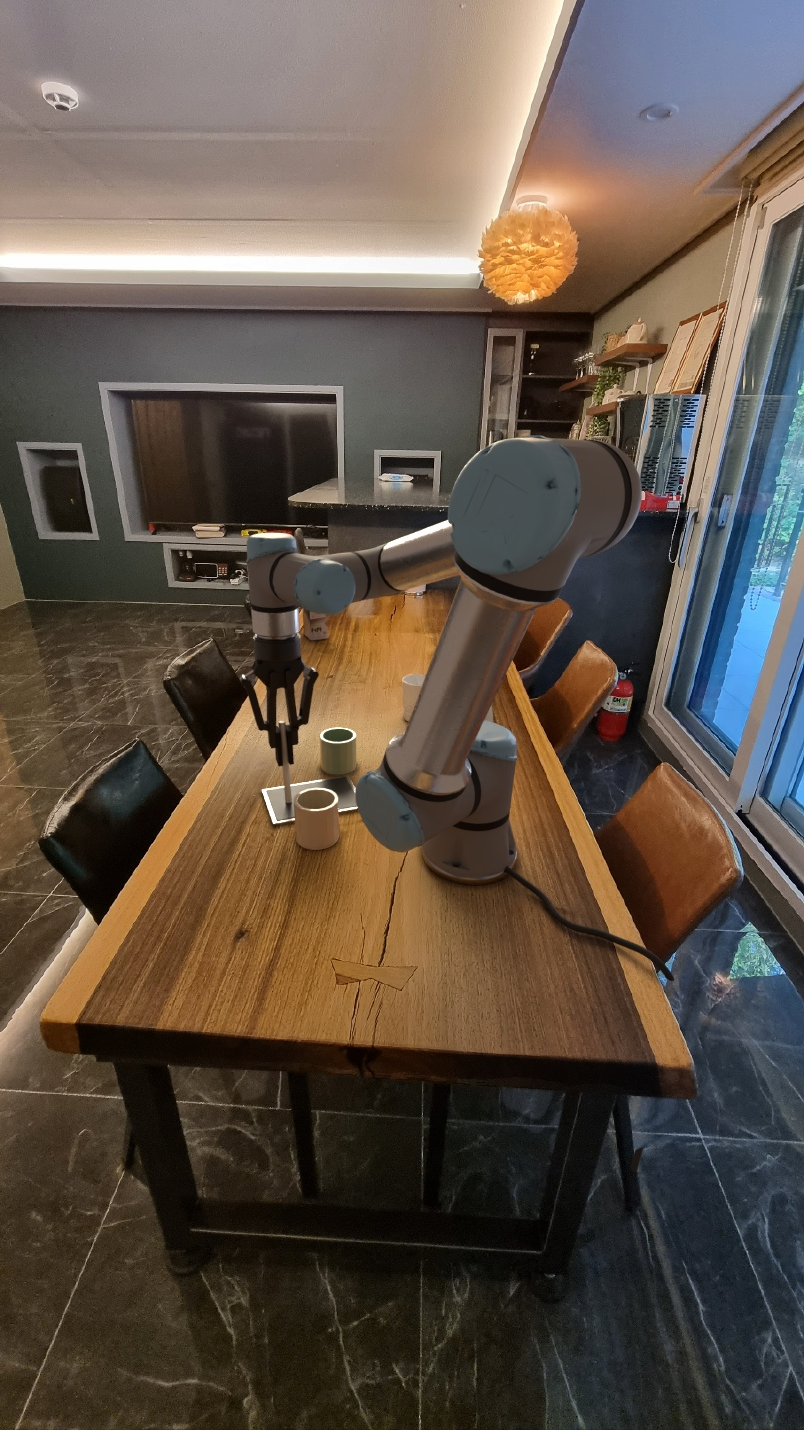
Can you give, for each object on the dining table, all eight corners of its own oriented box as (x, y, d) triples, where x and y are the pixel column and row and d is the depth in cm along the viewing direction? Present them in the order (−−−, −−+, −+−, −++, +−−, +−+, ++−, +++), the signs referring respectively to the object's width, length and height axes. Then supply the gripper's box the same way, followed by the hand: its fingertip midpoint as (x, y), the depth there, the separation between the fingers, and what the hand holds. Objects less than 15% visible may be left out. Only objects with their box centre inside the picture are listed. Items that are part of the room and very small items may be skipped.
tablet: (367, 810, 111) (367, 805, 111) (273, 828, 106) (273, 823, 105) (348, 779, 122) (348, 774, 121) (261, 793, 116) (261, 789, 115)
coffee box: (328, 638, 207) (327, 591, 201) (310, 640, 205) (308, 593, 198) (320, 631, 215) (318, 586, 208) (302, 633, 212) (300, 587, 206)
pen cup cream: (343, 844, 102) (343, 806, 99) (301, 853, 99) (299, 814, 96) (332, 821, 108) (331, 784, 105) (291, 829, 105) (289, 791, 102)
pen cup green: (360, 773, 124) (360, 740, 121) (326, 779, 121) (325, 745, 118) (350, 757, 130) (350, 725, 127) (317, 762, 128) (316, 730, 124)
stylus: (292, 802, 111) (285, 722, 105) (285, 803, 111) (278, 723, 105) (291, 799, 112) (284, 719, 106) (284, 800, 112) (277, 720, 106)
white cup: (430, 726, 145) (432, 687, 141) (398, 722, 147) (399, 683, 143) (435, 713, 152) (437, 675, 148) (404, 710, 154) (405, 672, 150)
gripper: (314, 623, 104) (319, 746, 114) (228, 630, 99) (240, 758, 109) (325, 636, 98) (329, 765, 108) (234, 644, 93) (246, 778, 103)
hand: (284, 761), depth 108 cm, fingers closed on stylus
